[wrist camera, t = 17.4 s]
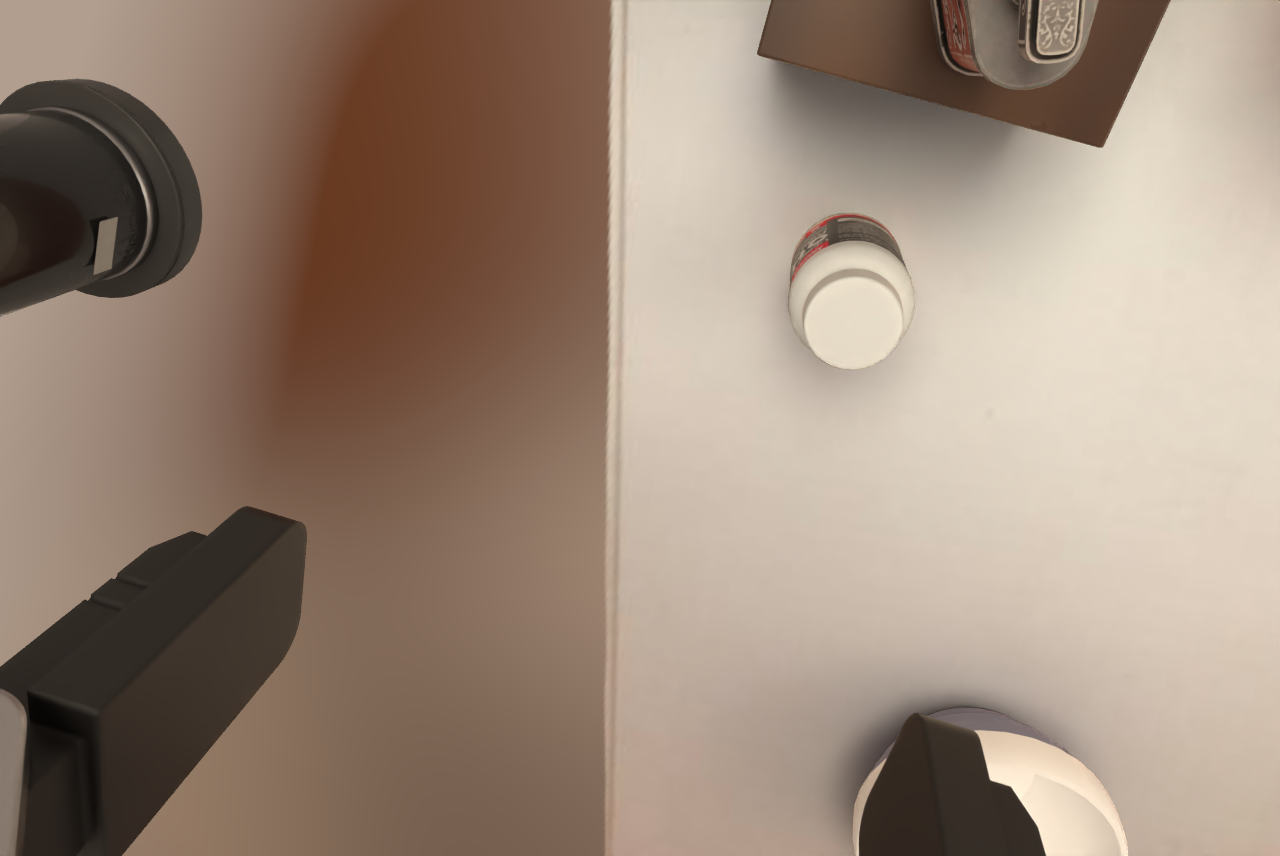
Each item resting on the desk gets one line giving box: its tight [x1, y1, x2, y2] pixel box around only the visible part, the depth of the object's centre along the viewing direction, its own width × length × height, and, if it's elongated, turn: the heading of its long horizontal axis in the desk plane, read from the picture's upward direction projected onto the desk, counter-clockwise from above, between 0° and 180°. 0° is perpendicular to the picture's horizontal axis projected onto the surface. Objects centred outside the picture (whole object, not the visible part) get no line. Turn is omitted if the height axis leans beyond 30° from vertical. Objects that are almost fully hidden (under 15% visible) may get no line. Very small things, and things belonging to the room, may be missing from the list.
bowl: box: [852, 707, 1128, 856], centre depth 52 cm, size 14×14×8 cm
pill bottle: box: [788, 213, 915, 370], centre depth 40 cm, size 5×5×10 cm
